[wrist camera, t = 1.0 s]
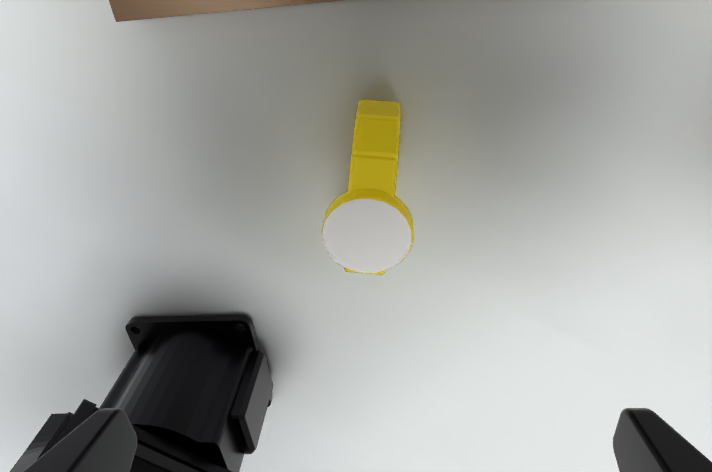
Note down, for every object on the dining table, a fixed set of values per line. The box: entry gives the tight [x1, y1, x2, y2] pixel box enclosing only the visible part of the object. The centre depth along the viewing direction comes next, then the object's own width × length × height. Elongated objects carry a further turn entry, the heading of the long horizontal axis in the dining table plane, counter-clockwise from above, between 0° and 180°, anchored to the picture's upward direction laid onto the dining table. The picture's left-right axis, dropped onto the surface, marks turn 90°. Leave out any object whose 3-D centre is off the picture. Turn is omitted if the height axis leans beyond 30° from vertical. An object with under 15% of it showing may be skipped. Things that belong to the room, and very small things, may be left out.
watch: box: [322, 99, 413, 275], centre depth 17 cm, size 6×3×6 cm, turn 177°
